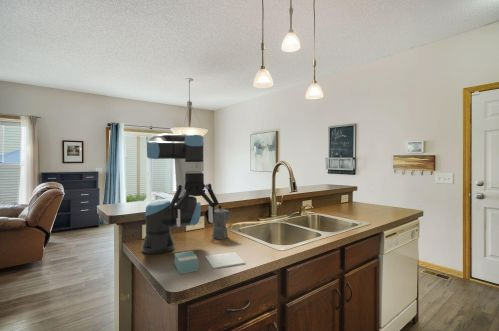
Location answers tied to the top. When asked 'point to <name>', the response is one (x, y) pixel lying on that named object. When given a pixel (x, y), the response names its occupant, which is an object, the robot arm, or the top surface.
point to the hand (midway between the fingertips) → (195, 224)
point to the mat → (224, 260)
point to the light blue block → (186, 262)
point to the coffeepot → (219, 223)
